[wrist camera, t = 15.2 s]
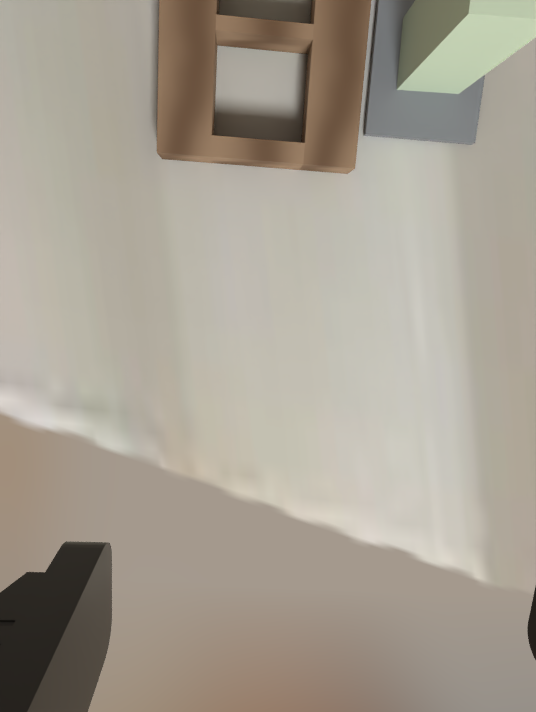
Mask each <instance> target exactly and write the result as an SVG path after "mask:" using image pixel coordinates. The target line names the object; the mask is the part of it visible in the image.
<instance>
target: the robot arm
mask: <svg viewBox="0 0 536 712" xmlns="http://www.w3.org/2000/svg"><path fill="white" fill-rule="evenodd" d="M111 622H112V552H111V546H110V543H102V542H65V543H64V544H63V545H62V546H61V548H60V549H59V551H58V552H57V554H56V556H55V557H54V559H53V561H52V562H51V564H50V566H49V567H48V569H47V570H46V572H45V573H43V572H39V573H38V572H27V573H26V574H25V575H23V576H22V577H20V578H19V579H18V580H16V581H15V582H14V583H12V584H11V585H10V586H9V587H7V588H6V589H5V590H3V591H2V592H1V593H0V712H88V709H89V706H90V703H91V700H92V697H93V694H94V691H95V688H96V685H97V682H98V679H99V676H100V673H101V670H102V667H103V664H104V661H105V658H106V654H107V649H108V645H109V639H110V632H111ZM528 639H529V644H530V648H531V650H532V653H533V656H534V658H535V659H536V587H535V592H534V597H533V602H532V607H531V612H530V616H529V621H528Z"/></svg>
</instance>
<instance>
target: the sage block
mask: <svg viewBox="0 0 536 712" xmlns="http://www.w3.org/2000/svg"><path fill="white" fill-rule="evenodd" d="M535 37H536V0H415V1H414V3H413V4H412V6H411V7H410V9H409V10H408V12H407V13H406V14H405V16H404V17H403V24H402V36H401V47H400V58H399V69H398V80H397V90H407V91H422V92H437V93H451V94H459V93H461V92H462V91H463V90H465V89H466V88H467V87H469V86H470V85H472V84H473V83H474V82H476V81H477V80H478V79H480V78H481V77H482V76H484V75H485V74H486V73H488V72H489V71H490V70H492V69H493V68H495V67H496V66H497V65H499V64H500V63H501V62H503V61H504V60H505V59H507V58H508V57H509V56H511V55H512V54H514V53H515V52H516V51H518V50H519V49H520V48H522V47H523V46H524V45H526V44H527V43H528V42H530V41H531V40H532V39H534V38H535Z"/></svg>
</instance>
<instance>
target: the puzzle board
mask: <svg viewBox="0 0 536 712" xmlns="http://www.w3.org/2000/svg"><path fill="white" fill-rule="evenodd" d="M370 8H371V0H312V5H311V18H310V24H306V23H296V22H286V21H276V20H267V19H257V18H247V17H237V16H227V15H218V14H219V0H159V51H158V112H157V153H158V154H159V156H160V157H161V158H162V159H170V160H182V161H195V162H207V163H220V164H233V165H245V166H258V167H270V168H283V169H295V170H308V171H320V172H333V173H345V174H348V173H349V172H351V171H352V170H353V169H355V163H356V152H357V142H358V132H359V121H360V111H361V101H362V90H363V80H364V70H365V59H366V49H367V39H368V28H369V18H370ZM217 45H220V46H230V47H240V48H251V49H261V50H271V51H282V52H292V53H302V54H308V59H307V72H306V86H305V99H304V113H303V126H302V140H301V143H299V142H287V141H275V140H263V139H251V138H239V137H227V136H216V135H214V117H215V91H216V65H217Z"/></svg>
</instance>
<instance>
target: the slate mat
mask: <svg viewBox="0 0 536 712" xmlns="http://www.w3.org/2000/svg"><path fill="white" fill-rule="evenodd" d="M414 1H415V0H377V6H376V16H375V26H374V36H373V46H372V56H371V66H370V76H369V86H368V97H367V107H366V117H365V127H364V135H365V136H376V137H388V138H400V139H411V140H423V141H435V142H446V143H458V144H470V145H472V144H474V143H475V140H476V133H477V126H478V119H479V112H480V105H481V98H482V91H483V84H484V77H485V75H484V76H482V77H481V78H480V79H478V80H477V81H476V82H474V83H473V84H472V85H470V86H469V87H467V88H466V89H465V90H463V91H462V92H461V93H459V94H451V93H437V92H422V91H407V90H397V80H398V69H399V58H400V47H401V36H402V24H403V17H404V16H405V14H406V13H407V12H408V10H409V9H410V7H411V6H412V4H413V3H414Z"/></svg>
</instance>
